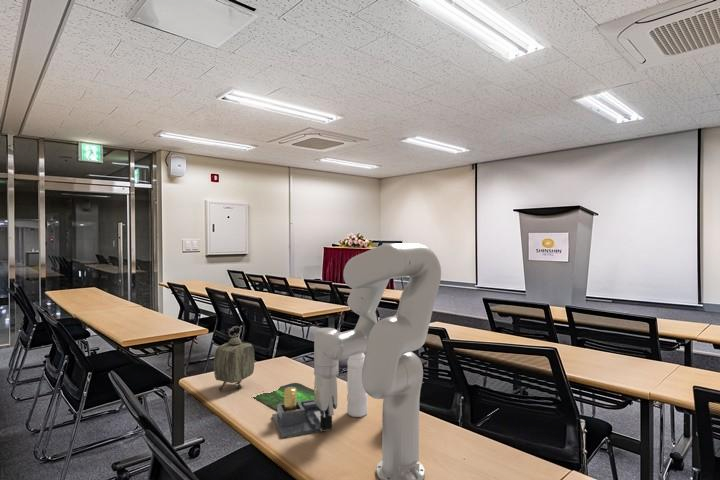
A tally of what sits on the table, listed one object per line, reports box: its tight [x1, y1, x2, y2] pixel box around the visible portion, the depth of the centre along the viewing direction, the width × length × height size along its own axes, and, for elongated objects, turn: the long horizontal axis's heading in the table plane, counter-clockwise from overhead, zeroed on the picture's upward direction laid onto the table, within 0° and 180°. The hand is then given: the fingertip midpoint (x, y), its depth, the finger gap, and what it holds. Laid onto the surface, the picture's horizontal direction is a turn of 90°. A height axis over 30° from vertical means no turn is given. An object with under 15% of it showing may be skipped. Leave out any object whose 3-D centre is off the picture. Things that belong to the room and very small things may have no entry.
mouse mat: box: [252, 382, 314, 412], centre depth 158 cm, size 27×22×1 cm
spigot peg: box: [284, 387, 296, 412], centre depth 137 cm, size 4×4×10 cm
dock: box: [271, 399, 333, 439], centre depth 137 cm, size 16×16×5 cm
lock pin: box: [314, 411, 330, 432], centre depth 133 cm, size 9×3×3 cm, turn 22°
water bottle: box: [346, 352, 368, 418], centre depth 144 cm, size 7×7×25 cm
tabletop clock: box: [213, 325, 255, 392], centre depth 168 cm, size 14×9×25 cm, turn 154°
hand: (326, 428), depth 127 cm, fingers closed
